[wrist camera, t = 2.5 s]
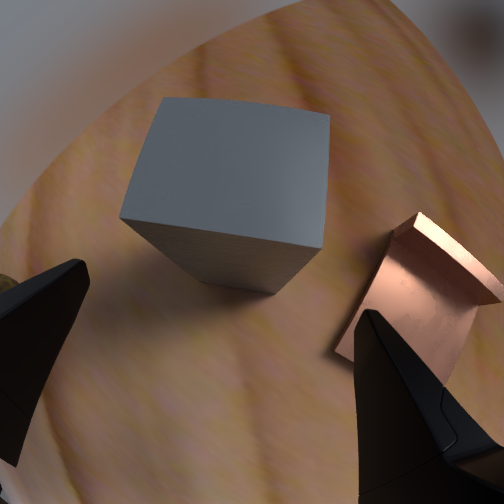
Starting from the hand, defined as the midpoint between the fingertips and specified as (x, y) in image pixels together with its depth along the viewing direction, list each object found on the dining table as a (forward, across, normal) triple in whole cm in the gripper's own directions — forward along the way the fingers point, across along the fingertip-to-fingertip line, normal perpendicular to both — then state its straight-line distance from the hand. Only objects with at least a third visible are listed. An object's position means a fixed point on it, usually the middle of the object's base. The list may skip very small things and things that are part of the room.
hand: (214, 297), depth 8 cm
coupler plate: (+8, -13, +7) cm, 17 cm away
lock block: (+10, 0, +5) cm, 11 cm away
